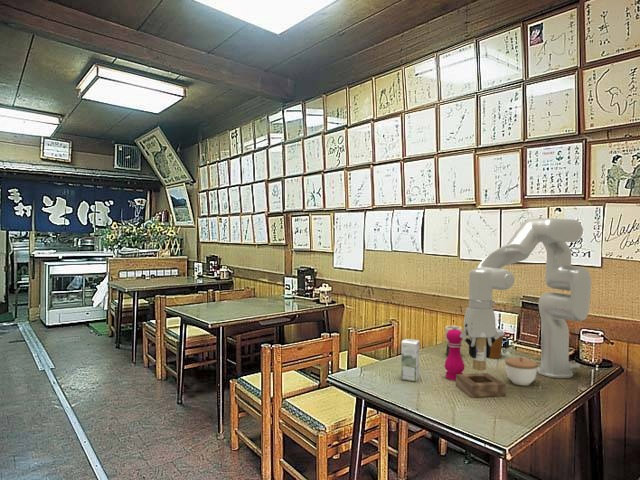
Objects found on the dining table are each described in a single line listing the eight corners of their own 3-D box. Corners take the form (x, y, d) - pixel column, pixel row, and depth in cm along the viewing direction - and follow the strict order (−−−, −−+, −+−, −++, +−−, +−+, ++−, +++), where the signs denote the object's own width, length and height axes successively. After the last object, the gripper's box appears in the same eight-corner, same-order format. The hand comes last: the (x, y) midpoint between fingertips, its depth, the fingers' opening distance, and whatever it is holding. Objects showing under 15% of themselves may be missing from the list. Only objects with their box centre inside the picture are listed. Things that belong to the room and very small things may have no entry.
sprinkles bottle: (470, 369, 152) (471, 330, 152) (475, 366, 156) (475, 328, 156) (483, 371, 149) (484, 332, 149) (488, 368, 153) (488, 330, 153)
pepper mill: (465, 381, 162) (465, 327, 162) (445, 380, 164) (445, 326, 163) (463, 375, 169) (463, 323, 169) (443, 374, 171) (444, 323, 170)
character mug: (455, 360, 189) (456, 330, 189) (440, 357, 194) (440, 328, 194) (465, 355, 198) (466, 326, 197) (450, 352, 202) (450, 324, 202)
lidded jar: (523, 389, 154) (524, 363, 154) (498, 380, 164) (498, 355, 163) (543, 384, 159) (543, 359, 159) (518, 376, 168) (518, 351, 168)
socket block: (487, 384, 160) (487, 373, 160) (505, 396, 148) (505, 384, 148) (456, 385, 158) (456, 374, 158) (471, 397, 146) (471, 385, 146)
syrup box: (419, 377, 167) (419, 339, 167) (416, 382, 161) (416, 343, 161) (404, 375, 169) (404, 338, 169) (400, 380, 164) (401, 341, 164)
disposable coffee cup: (479, 353, 200) (479, 327, 200) (501, 354, 199) (501, 327, 199) (483, 359, 191) (484, 331, 191) (506, 360, 189) (507, 332, 189)
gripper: (497, 302, 157) (496, 353, 157) (452, 303, 155) (451, 354, 155) (509, 306, 150) (508, 359, 150) (462, 306, 148) (461, 360, 148)
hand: (479, 356), depth 153 cm, fingers closed on sprinkles bottle, 4 cm apart
